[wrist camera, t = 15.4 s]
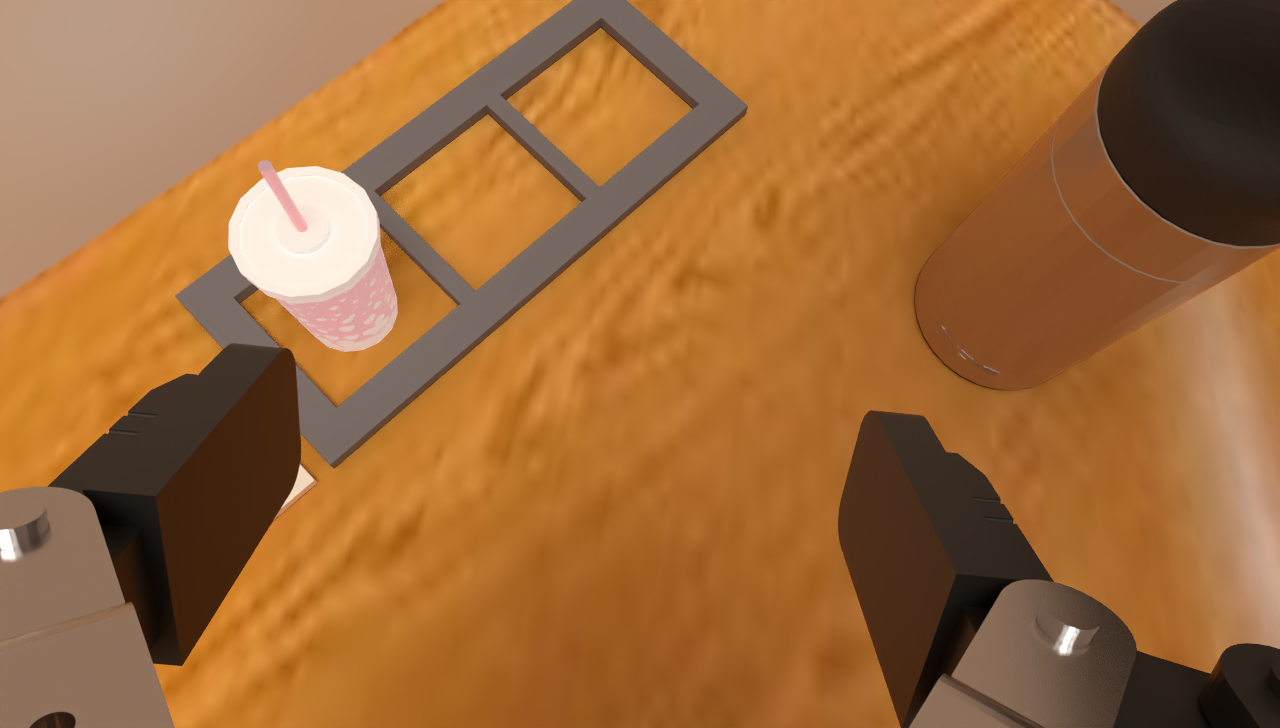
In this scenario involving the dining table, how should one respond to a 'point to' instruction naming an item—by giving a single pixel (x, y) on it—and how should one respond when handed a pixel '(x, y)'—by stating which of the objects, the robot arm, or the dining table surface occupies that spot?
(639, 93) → the dining table surface
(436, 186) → the dining table surface
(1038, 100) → the dining table surface
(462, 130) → the grey flat frame
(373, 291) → the beverage cup
